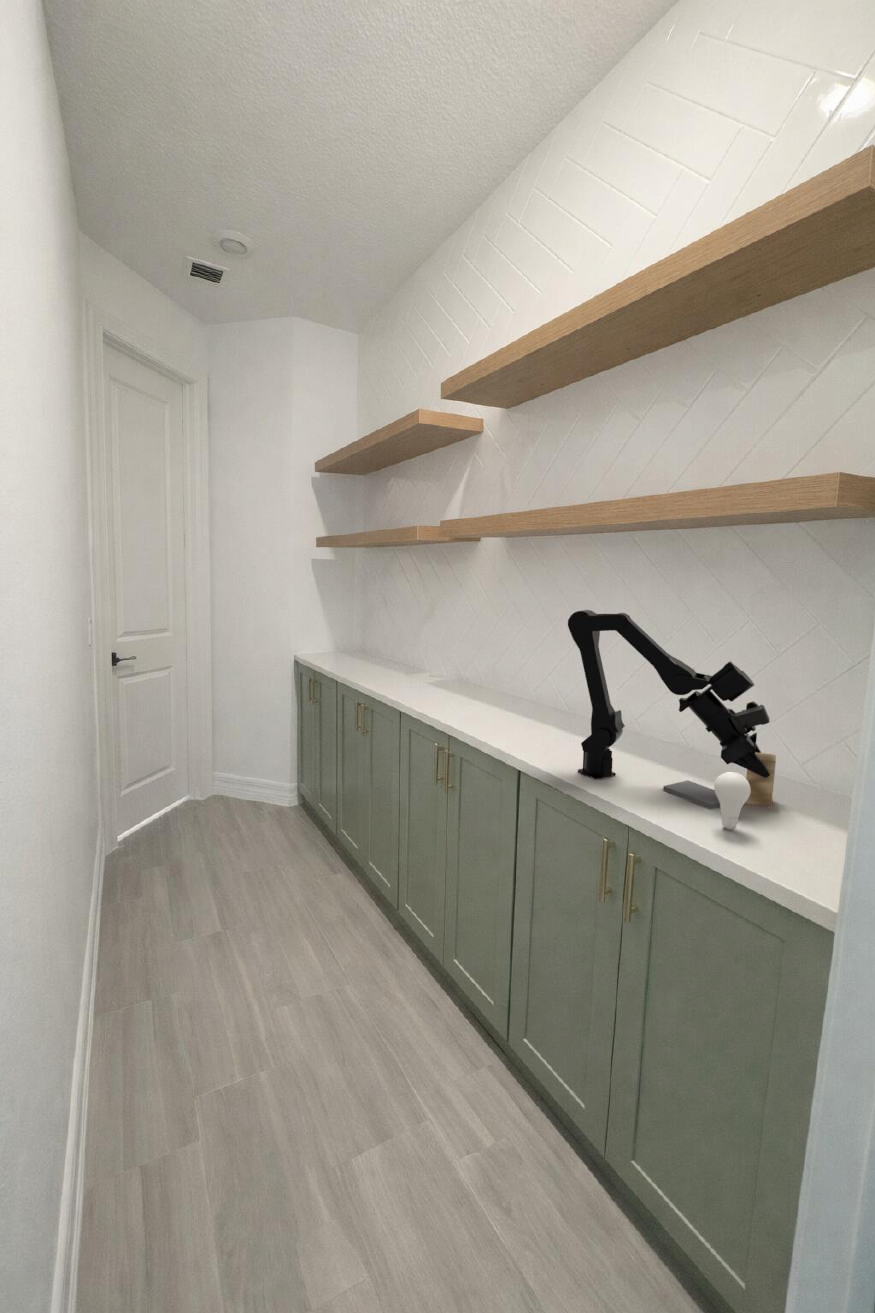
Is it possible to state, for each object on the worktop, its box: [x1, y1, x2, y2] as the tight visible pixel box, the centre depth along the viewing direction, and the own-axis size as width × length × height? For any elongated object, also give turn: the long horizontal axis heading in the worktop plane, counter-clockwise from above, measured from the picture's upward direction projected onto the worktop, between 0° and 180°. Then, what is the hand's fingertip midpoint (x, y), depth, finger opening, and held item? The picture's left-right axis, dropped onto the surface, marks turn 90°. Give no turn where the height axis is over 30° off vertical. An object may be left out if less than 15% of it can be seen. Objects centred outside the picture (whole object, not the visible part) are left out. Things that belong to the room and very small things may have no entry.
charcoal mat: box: [662, 780, 721, 810], centre depth 129 cm, size 12×8×1 cm, turn 29°
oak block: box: [744, 752, 777, 809], centre depth 126 cm, size 5×5×10 cm
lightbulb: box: [713, 771, 751, 830], centre depth 112 cm, size 6×6×11 cm
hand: (768, 772), depth 125 cm, fingers closed on oak block, 5 cm apart
